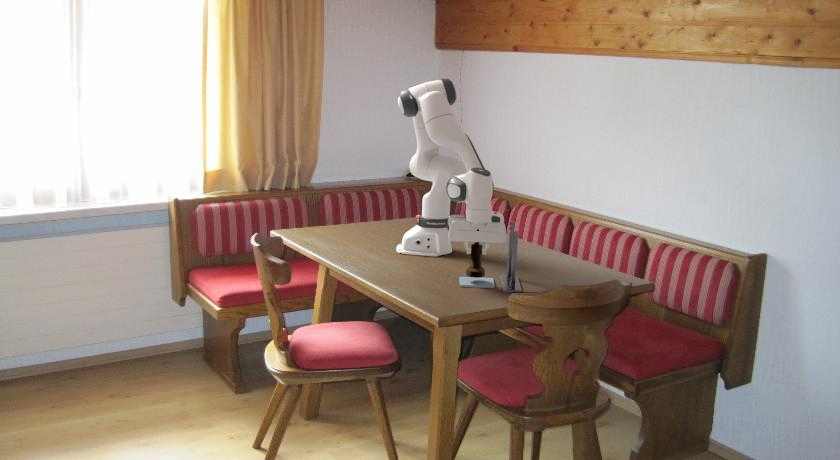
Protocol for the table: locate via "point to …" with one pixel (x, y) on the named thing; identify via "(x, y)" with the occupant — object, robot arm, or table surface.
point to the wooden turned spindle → (476, 261)
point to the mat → (476, 282)
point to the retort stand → (511, 264)
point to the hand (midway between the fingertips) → (476, 254)
